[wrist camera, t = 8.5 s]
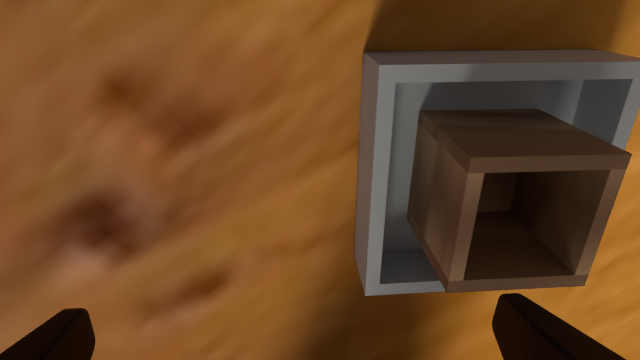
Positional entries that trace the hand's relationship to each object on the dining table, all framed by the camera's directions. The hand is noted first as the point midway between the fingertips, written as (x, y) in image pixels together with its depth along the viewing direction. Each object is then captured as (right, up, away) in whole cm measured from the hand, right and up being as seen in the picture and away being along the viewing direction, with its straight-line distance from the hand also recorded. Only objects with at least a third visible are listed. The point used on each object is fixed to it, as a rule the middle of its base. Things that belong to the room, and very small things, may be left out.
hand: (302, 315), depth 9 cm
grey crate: (+8, +4, +13) cm, 16 cm away
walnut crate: (+8, +4, +12) cm, 15 cm away
